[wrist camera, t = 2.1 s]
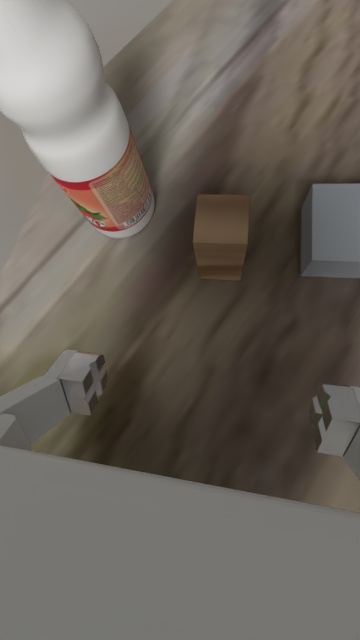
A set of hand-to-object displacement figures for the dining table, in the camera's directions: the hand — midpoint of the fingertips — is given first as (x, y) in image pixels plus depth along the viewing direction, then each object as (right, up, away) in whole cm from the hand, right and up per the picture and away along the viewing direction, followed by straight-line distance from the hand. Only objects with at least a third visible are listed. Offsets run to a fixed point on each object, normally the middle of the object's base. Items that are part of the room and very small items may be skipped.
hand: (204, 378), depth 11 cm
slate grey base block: (+18, +12, +25) cm, 33 cm away
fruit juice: (-9, +17, +30) cm, 36 cm away
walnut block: (+4, +10, +26) cm, 28 cm away
